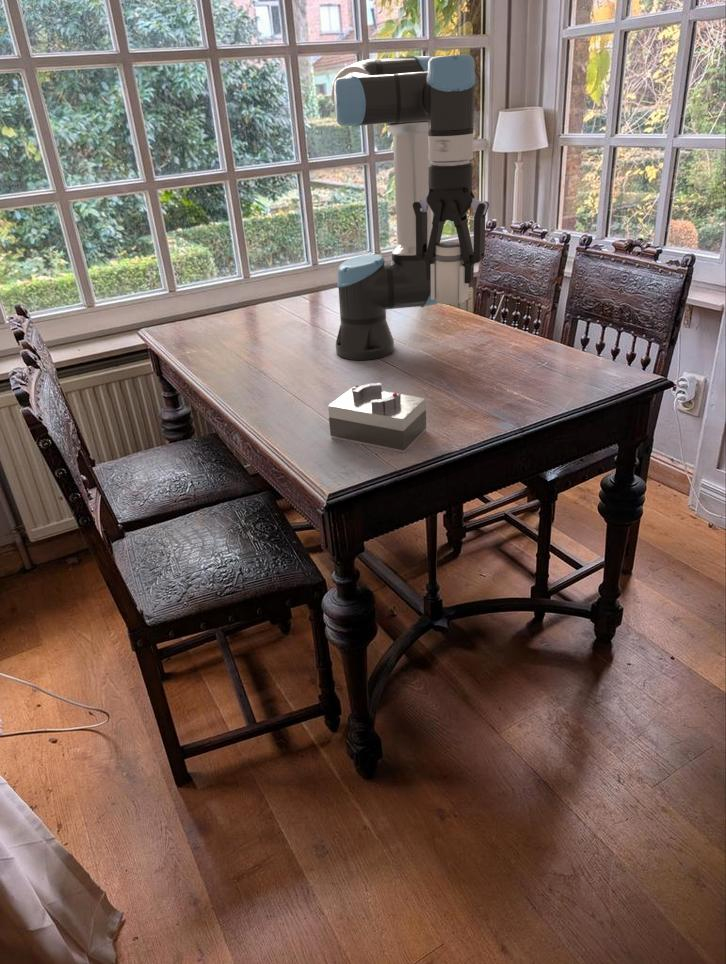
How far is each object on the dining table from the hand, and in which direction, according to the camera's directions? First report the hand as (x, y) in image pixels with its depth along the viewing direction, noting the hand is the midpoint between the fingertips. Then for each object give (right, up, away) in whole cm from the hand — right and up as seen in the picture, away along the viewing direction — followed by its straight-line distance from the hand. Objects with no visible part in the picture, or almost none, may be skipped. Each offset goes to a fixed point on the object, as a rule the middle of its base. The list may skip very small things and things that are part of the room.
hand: (449, 298), depth 127 cm
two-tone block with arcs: (-13, -25, +8) cm, 29 cm away
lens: (0, 0, 0) cm, 0 cm away
